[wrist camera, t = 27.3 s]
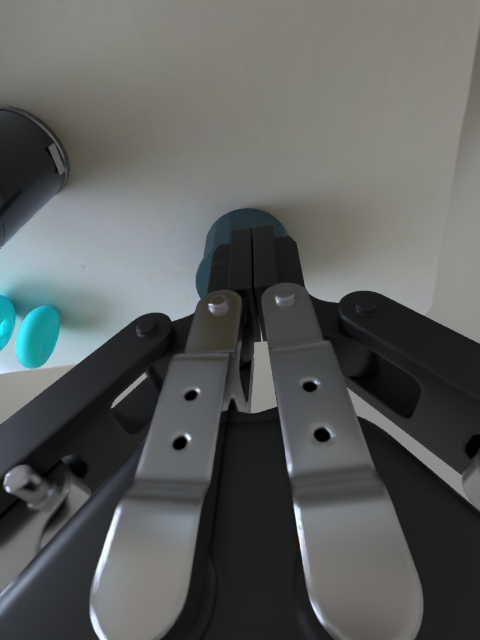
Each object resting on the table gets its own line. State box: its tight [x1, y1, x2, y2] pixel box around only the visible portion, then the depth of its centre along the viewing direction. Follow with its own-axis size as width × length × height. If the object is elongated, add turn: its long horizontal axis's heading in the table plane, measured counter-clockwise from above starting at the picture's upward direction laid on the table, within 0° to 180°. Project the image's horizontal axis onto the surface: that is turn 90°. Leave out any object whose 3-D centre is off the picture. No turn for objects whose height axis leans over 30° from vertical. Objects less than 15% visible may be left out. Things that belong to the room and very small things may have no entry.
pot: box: [203, 209, 288, 258], centre depth 43 cm, size 11×11×8 cm
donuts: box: [0, 295, 60, 369], centre depth 51 cm, size 10×10×10 cm
